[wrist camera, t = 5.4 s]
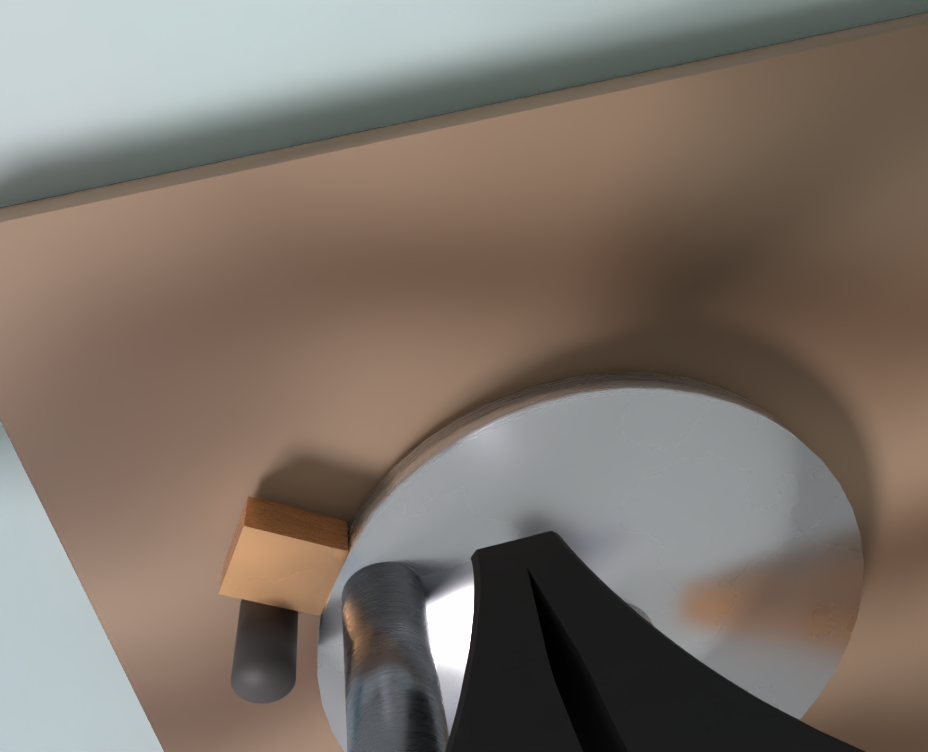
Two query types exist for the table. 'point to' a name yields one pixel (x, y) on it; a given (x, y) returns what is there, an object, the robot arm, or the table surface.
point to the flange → (585, 531)
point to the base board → (475, 341)
